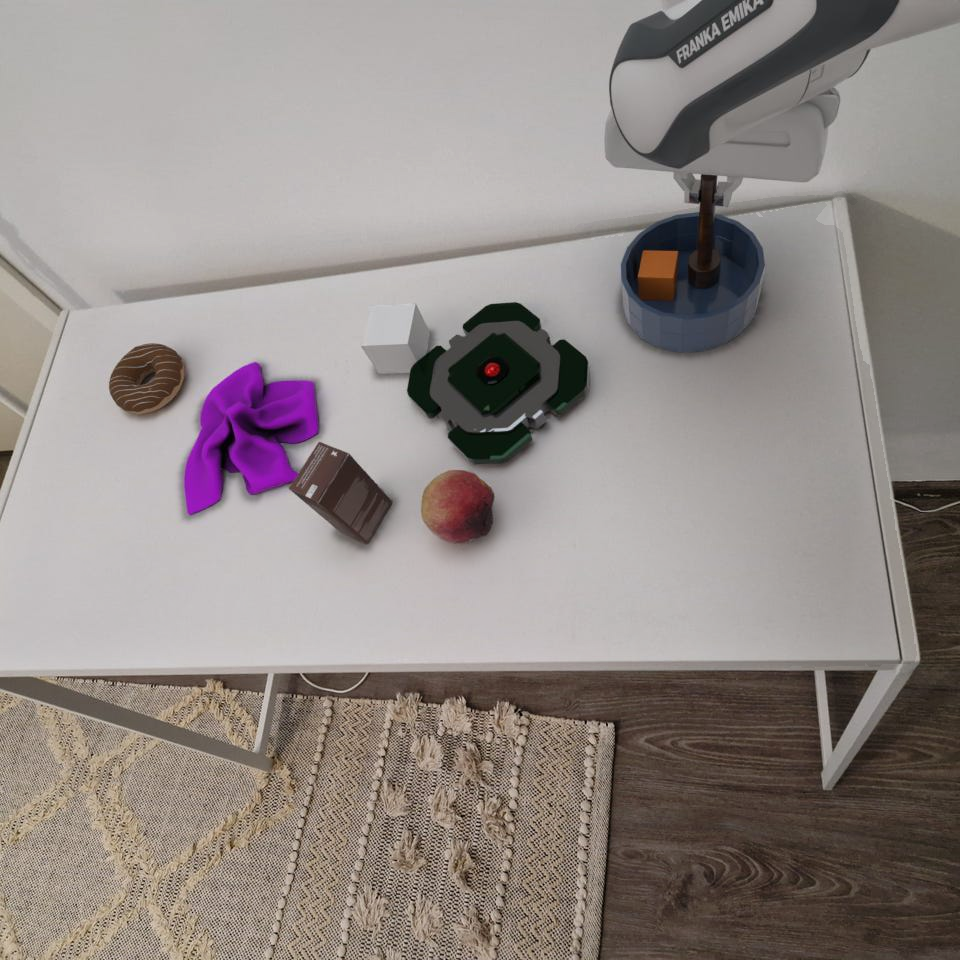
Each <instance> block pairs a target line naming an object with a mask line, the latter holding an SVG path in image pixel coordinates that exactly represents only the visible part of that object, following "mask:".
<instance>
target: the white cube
mask: <svg viewBox="0 0 960 960" xmlns="http://www.w3.org/2000/svg"><path fill="white" fill-rule="evenodd" d="M430 337H431V332H430V330H429V328H428V326H427V323H426V322H425V319H424V317H423V315H422V313H421V311H420V309H419V307H418V305H417V303H416V302H413V303H398V304H397V303H395V304H379V305H378V304H377V305H370V306H369V309H368V314H367V317H366V321H365V325H364V330H363V334H362V338H361V342H360V343H361V344H360V348H361V349H362V350H363V352H364V353H365V355H366V357H367V358H368V360H369V361H370V362H371V365H372V366H373V368H374V370H375V371H376V372H377V375H391V374H393V375H394V374H410V370H411V368H412V366H413V365H414V364H415V363H416V362H417V361H418V360H420V359H421V358H422V357H423V356H425V355H426V354H427V353H428V348H429V342H430V339H431V338H430Z"/></svg>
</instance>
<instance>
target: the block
mask: <svg viewBox="0 0 960 960" xmlns="http://www.w3.org/2000/svg"><path fill="white" fill-rule="evenodd" d="M677 276H678V251H651V250H643V253H642V258H641V263H640V268H639V273H638V290H639V299H640V300H661V301H673V300H674V294H675V288H676V282H677Z"/></svg>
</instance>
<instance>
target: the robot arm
mask: <svg viewBox="0 0 960 960" xmlns="http://www.w3.org/2000/svg"><path fill="white" fill-rule="evenodd" d="M661 4H662V5H661V6H662V9H663V10H659V11H656V12H655V13H652V14H651V15H648V16H646V17H643V18H641V19H638V20H637V21H634V22H632V23H631V24H630V25H629V26H628V28H627V30H626V32H625V33H624V35H623V37H622V40H621V42H620V44H619V46H618V49H617V52H616V55H615V57H614V60H613V63H612V67H611V70H610V74H609V79H608V80H609V81H608V95H609V104H610V110H609V112H608V115H607V118H606V120H605V126H604V139H603V141H604V143H603V144H604V145H603V146H604V157H605V159H606V160H607V161H608V163H609V164H610V166H613V168H618V169H631V170H632V169H633V170H645V171H657V172H667V173H673V180H674V181H675V182H676V183H677V185H678V187H680V189H681V190H682V191H683V193H684V194H683V195H684V197H683V198H684V199H683V201H684V203H685V204H694V205H700V181H701V179H697V178H695V175H701V174H704V175H717V177H718V176H719V177H726V181H717V189H716V191H715V194H714V205H715V207H725V208H729V206H730V204H731V200H732V197H733V193H734V192H736V190H737V189H738V188H739V187H740V186H741V185H742V182H743V180H744V179H754V180H755V179H756V180H767V181H780V182H791V183H809V182H811V180H813V179H815V178H816V176H818V175H819V174H820V172H821V168H822V165H823V161H824V157H825V153H826V150H827V144H828V143H827V142H828V136H829V135H828V134H829V127H830V126H831V125H832V124H833V123H834V122H835V120H836V119H837V117H838V114H839V109H840V104H841V94H840V91H839V90H838V89H837V88H836V86H837V85H839V84H841V83H842V82H844V81H845V80H848V79H850V78H851V77H853V76H854V75H856V74H857V73H858V72H859V71H860V69H861V68H862V66H863V65H864V63H865V61H866V60H867V58H868V57H869V54H870V52H871V50H872V49H875V48H878V47H879V48H880V47H883V46H887V45H889V44H892V43H896V42H899V41H902V40H906V39H909V38H912V37H916V36H919V35H923V34H926V33H929V32H933V31H936V30H939V29H942V28H946V27H950V26H953V25H957V24H960V0H661Z"/></svg>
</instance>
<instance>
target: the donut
mask: <svg viewBox="0 0 960 960" xmlns="http://www.w3.org/2000/svg"><path fill="white" fill-rule="evenodd" d="M153 372H154V373H155V376H154V377H153V379H152V380H151V381H149V382H147V383H145V384H144V383H143V384H141V383H142V381H143V380H144V379H145V378H146V377H147V376H148V375H150V374H151V373H153ZM184 379H185V366H184V362H183V358H182V357H181V356H180V355H179V354H178V352H177V351H176V350H174V349H173V348H171V347H169V346H167V345H165V344H163V343H155V342H153V343H152V342H151V343H144V344H140V345H136V346H134V347H133V348H132V349H130V350H129V351H128V352H127V353H125V354H124V355H123V356H122V357H121V358H120V360H119V361H118V362H117V363H116V365H115V367H114V369H112V372H111V374H110V377H109V381H108V390H109V395H110V396H111V398H112V400H113V401H114V403H115V404H116V406H117V407H119V408H121V409H122V410H123V411H124V412H128V413H132V414H148V413H153V412H154V411H157V410H160V409H162V408H163V407H164V406H166V405H168V403H170V402H171V401H172V400H173V399H174V398H175V397H176V396H177V394H178V393H179V391H180V390H181V387H182V385H183V382H184Z"/></svg>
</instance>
